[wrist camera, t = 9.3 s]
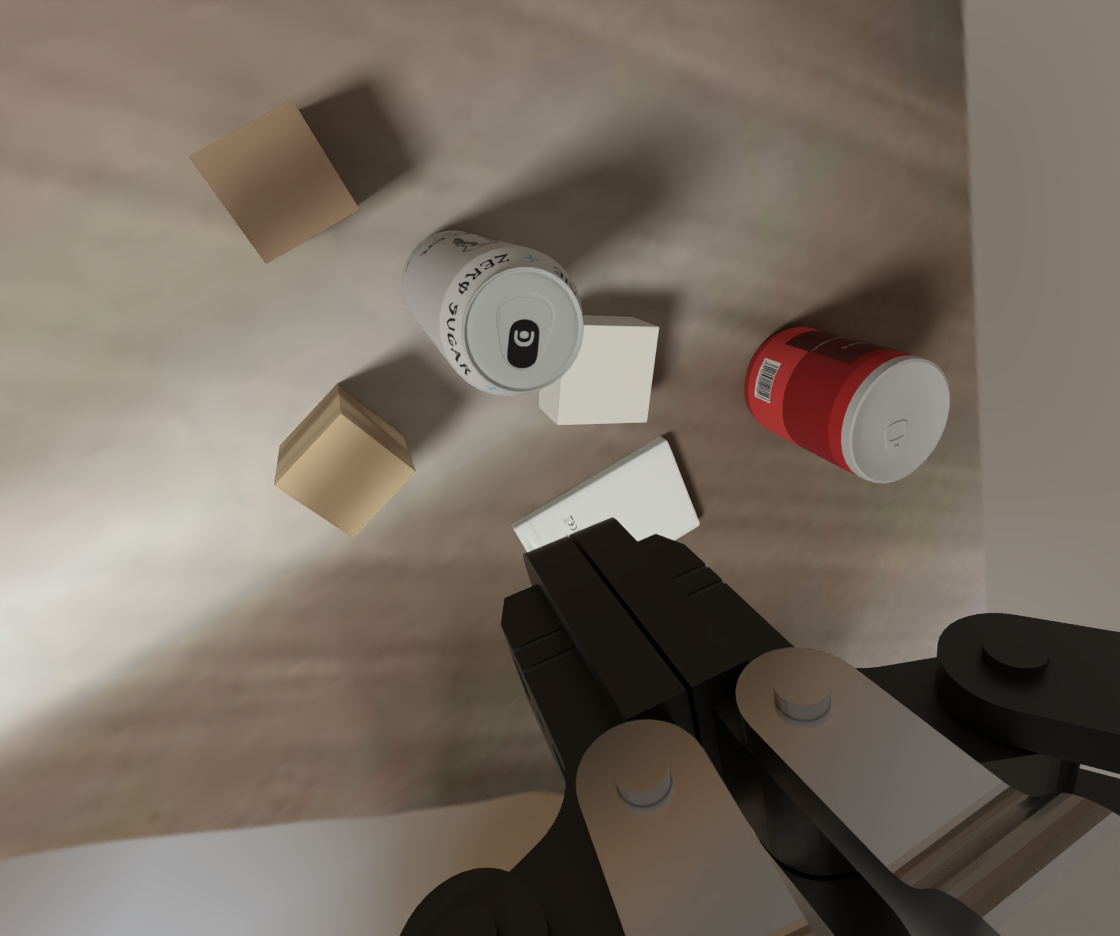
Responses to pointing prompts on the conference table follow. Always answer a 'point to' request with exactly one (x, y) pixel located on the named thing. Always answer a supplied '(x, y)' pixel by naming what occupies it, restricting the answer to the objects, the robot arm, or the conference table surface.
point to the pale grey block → (606, 374)
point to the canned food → (849, 401)
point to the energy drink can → (495, 310)
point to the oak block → (343, 462)
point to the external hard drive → (618, 501)
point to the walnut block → (275, 181)
